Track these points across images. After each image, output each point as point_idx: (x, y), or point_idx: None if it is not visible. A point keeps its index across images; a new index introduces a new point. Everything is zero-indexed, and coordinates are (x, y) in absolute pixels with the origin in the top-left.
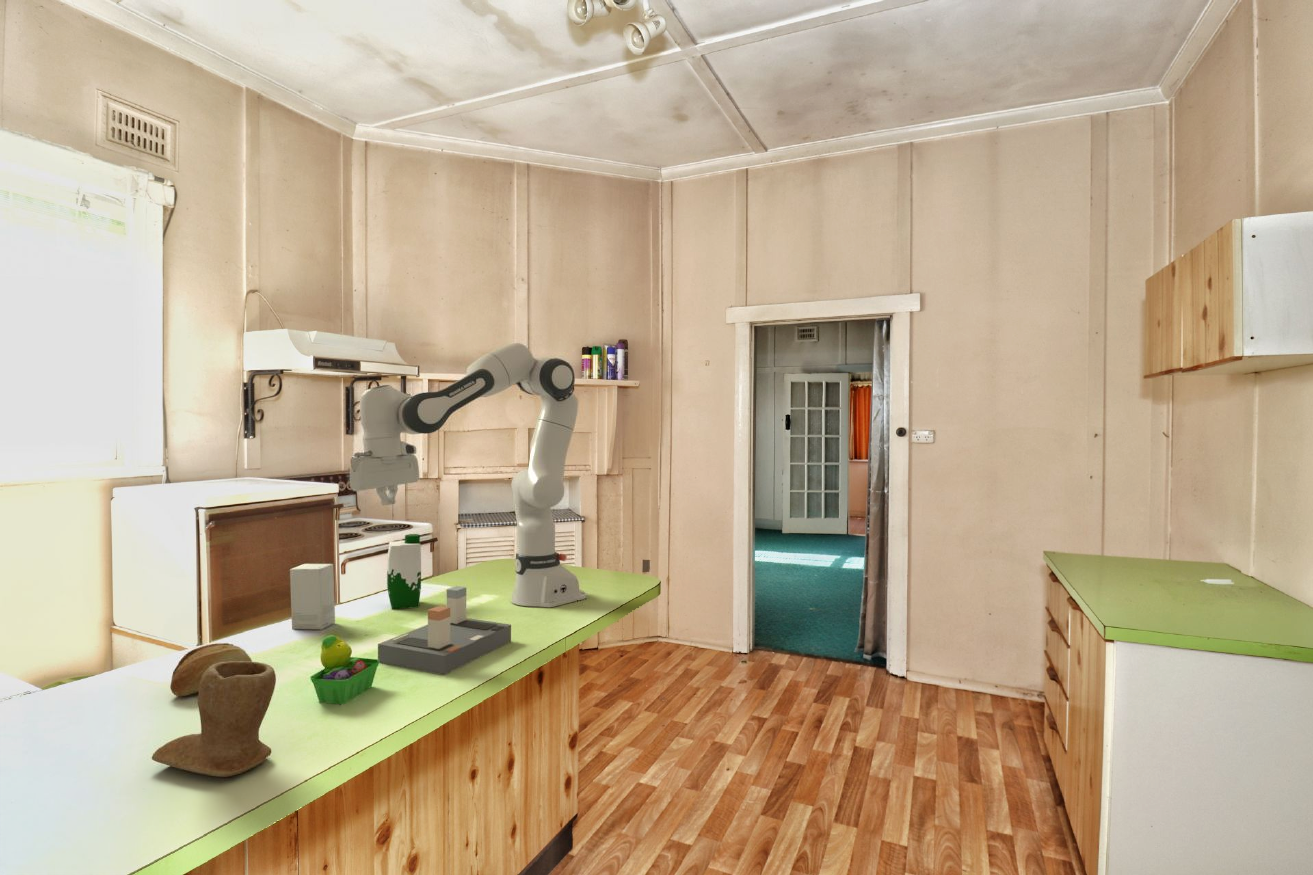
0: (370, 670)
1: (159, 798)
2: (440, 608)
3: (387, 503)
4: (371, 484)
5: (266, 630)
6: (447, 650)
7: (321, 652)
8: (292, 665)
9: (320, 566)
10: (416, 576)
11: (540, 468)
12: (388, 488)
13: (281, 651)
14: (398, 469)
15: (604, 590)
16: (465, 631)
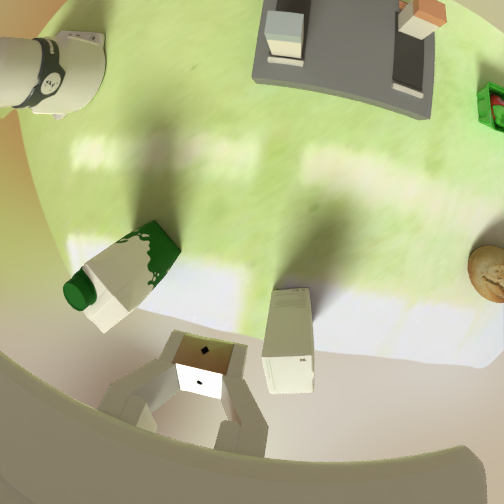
0: (497, 88)
1: None
2: (431, 5)
3: (244, 347)
4: (416, 483)
5: (322, 345)
6: None
7: None
8: (444, 227)
9: (291, 363)
10: (129, 240)
11: None
12: (152, 431)
13: (400, 276)
14: (33, 502)
15: None
16: (330, 14)
